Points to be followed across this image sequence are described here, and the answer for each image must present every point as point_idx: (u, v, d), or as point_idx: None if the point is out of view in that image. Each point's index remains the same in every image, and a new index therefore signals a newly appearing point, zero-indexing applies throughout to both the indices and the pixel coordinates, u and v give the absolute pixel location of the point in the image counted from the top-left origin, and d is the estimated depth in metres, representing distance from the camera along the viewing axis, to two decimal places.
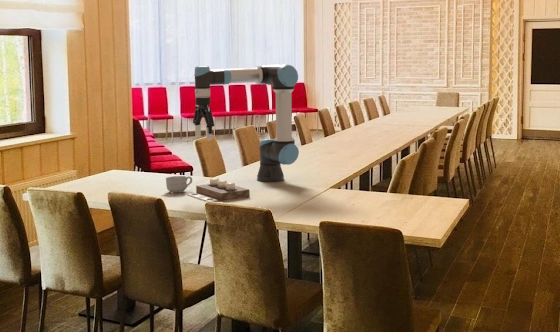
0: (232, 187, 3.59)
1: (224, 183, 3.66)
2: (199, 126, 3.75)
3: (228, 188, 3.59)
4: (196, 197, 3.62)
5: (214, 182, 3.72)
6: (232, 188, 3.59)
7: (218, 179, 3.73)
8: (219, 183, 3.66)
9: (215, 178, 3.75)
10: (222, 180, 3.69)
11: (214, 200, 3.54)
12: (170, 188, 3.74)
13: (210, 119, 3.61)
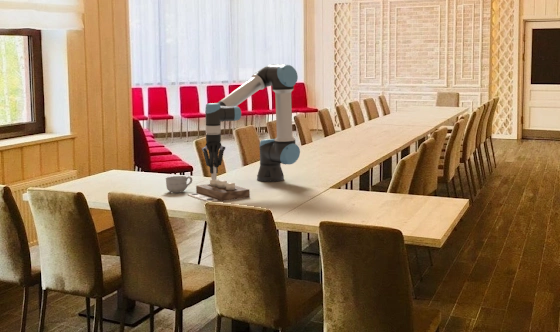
0: (232, 187, 3.59)
1: (224, 183, 3.66)
2: None
3: (228, 188, 3.59)
4: (196, 197, 3.62)
5: (214, 183, 3.72)
6: (232, 188, 3.59)
7: (218, 180, 3.73)
8: (219, 183, 3.66)
9: None
10: (222, 180, 3.69)
11: (214, 200, 3.54)
12: (170, 188, 3.74)
13: (206, 160, 3.70)
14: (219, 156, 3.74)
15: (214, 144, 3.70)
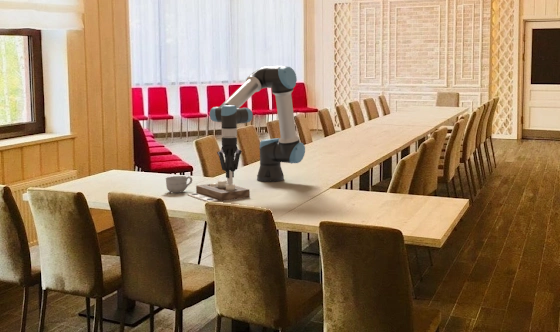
0: (232, 188, 3.60)
1: (224, 183, 3.66)
2: None
3: (228, 189, 3.59)
4: (196, 197, 3.62)
5: None
6: (232, 189, 3.60)
7: None
8: (219, 183, 3.66)
9: (215, 183, 3.76)
10: (222, 180, 3.69)
11: (214, 200, 3.54)
12: (170, 188, 3.74)
13: (221, 164, 3.57)
14: (235, 160, 3.61)
15: (230, 147, 3.57)
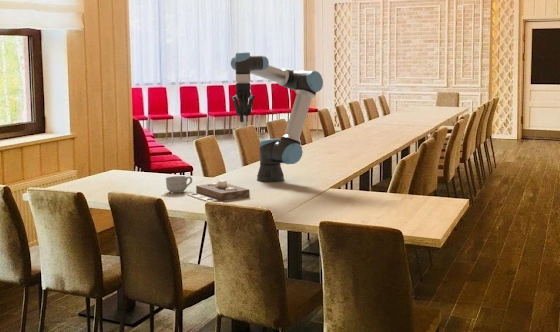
0: None
1: (224, 183, 3.66)
2: None
3: None
4: (196, 197, 3.62)
5: None
6: None
7: None
8: (219, 183, 3.66)
9: (215, 183, 3.76)
10: (222, 180, 3.69)
11: (214, 200, 3.54)
12: (170, 188, 3.74)
13: (236, 108, 3.74)
14: (249, 105, 3.78)
15: (244, 93, 3.74)
